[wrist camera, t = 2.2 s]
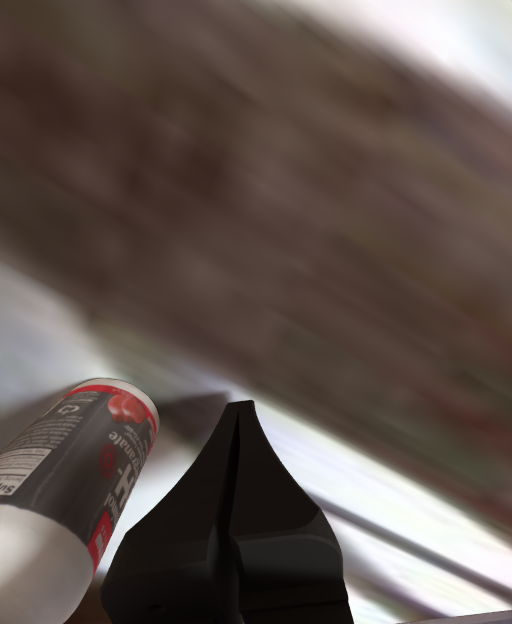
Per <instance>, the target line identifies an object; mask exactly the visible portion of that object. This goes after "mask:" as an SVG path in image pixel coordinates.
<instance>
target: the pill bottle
mask: <svg viewBox="0 0 512 624" xmlns="http://www.w3.org/2000/svg"><path fill="white" fill-rule="evenodd" d="M158 430H159V415H158V412H157V409H156V407H155V405H154V403H153V402H152V401H151V400H150V398H149V397H148V396H147V395H146V394H145V393H143V392H142V391H141V390H139V389H138V388H136V387H135V386H133V385H131V384H129V383H127V382H124V381H120V380H114V379H105V378H101V379H94V380H90V381H87V382H85V383H83V384H80V385H78V386H77V387H75V388H74V389H73V390H71V391H70V392H69V393H68V394H67V395H65V396H64V397H63V398H62V399H60V400H59V401H58V402H57V403H55V404H54V406H53V407H52V408H50V409H49V410H48V411H47V412H46V413H44V414H43V415H42V416H41V417H40V418H39V419H38V420H36V421H35V422H34V423H33V424H32V425H31V426H30V427H29V428H27V429H26V430H25V431H24V432H23V433H22V434H20V435H19V436H18V437H17V438H16V439H15V440H14V441H13V442H12V443H10V444H9V445H8V446H7V447H6V448H5V449H3V450H2V451H1V452H0V624H63V623H64V622H65V621H66V620H67V619H68V618H69V617H70V616H71V615H72V614H73V612H74V611H75V610H76V608H77V607H78V605H79V603H80V602H81V600H82V598H83V597H84V595H85V593H86V591H87V589H88V587H89V585H90V583H91V581H92V579H93V577H94V574H95V572H96V569H97V567H98V565H99V563H100V561H101V558H102V556H103V554H104V552H105V549H106V547H107V545H108V543H109V540H110V538H111V536H112V534H113V532H114V530H115V527H116V524H117V522H118V520H119V518H120V516H121V514H122V512H123V510H124V507H125V505H126V502H127V500H128V499H129V496H130V494H131V492H132V489H133V488H134V485H135V483H136V481H137V479H138V476H139V474H140V472H141V469H142V467H143V465H144V463H145V461H146V459H147V456H148V454H149V452H150V450H151V448H152V445H153V443H154V440H155V438H156V436H157V433H158Z"/></svg>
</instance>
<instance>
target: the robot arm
mask: <svg viewBox="0 0 512 624" xmlns="http://www.w3.org/2000/svg"><path fill="white" fill-rule="evenodd" d="M100 598H101V602H102V605H103V607H104V609H105V611H106V612H107V614H108V616H109V618H110V619H111V621H112V623H113V624H354V621H353V617H352V614H351V610H350V606H349V603H348V594H347V590H346V587H345V583H344V579H343V557H342V552H341V549H340V546H339V544H338V541H337V539H336V536H335V534H334V532H333V530H332V528H331V526H330V524H329V523H328V521H327V519H326V517H325V515H324V514H323V512H322V510H321V508H320V507H319V506H318V505H317V504H316V503H315V502H314V501H313V500H312V499H311V498H310V497H309V496H308V495H307V494H306V493H305V492H304V490H303V489H302V488H301V487H300V486H299V485H298V483H297V482H296V481H295V480H294V478H293V477H292V476H291V475H290V473H289V472H288V471H287V469H286V468H285V467H284V465H283V464H282V462H281V461H280V459H279V458H278V456H277V455H276V453H275V452H274V450H273V448H272V447H271V445H270V443H269V441H268V439H267V438H266V436H265V434H264V432H263V429H262V427H261V425H260V423H259V420H258V417H257V414H256V411H255V405H254V401H253V400H246V401H238V402H230V403H228V404H227V405H226V408H225V410H224V412H223V414H222V416H221V418H220V420H219V422H218V424H217V426H216V428H215V430H214V431H213V433H212V435H211V437H210V438H209V440H208V441H207V443H206V445H205V446H204V448H203V449H202V451H201V452H200V454H199V455H198V457H197V458H196V460H195V461H194V462H193V464H192V465H191V466H190V468H189V469H188V470H187V471H186V473H185V474H184V475H183V476H182V478H181V479H180V480H179V481H178V482H177V484H176V485H175V486H174V487H173V488H172V489H171V490H170V491H169V492H168V493H167V494H166V496H165V497H164V498H163V499H162V500H161V501H160V502H159V503H158V504H157V505H156V506H155V507H154V508H153V509H152V510H151V511H150V512H149V513H148V514H146V515H145V516H144V517H143V518H142V519H141V520H140V521H139V522H138V523H136V524H135V525H134V526H133V527H132V528H131V529H130V530H128V531H127V532H126V533H125V535H124V538H123V540H122V541H121V543H120V545H119V547H118V549H117V551H116V553H115V556H114V558H113V560H112V563H111V565H110V568H109V570H108V572H107V575H106V577H105V580H104V582H103V584H102V587H101V590H100ZM398 624H512V610H508V611H499V612H491V613H482V614H474V615H465V616H457V617H448V618H440V619H431V620H423V621H414V622H406V623H398Z"/></svg>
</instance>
